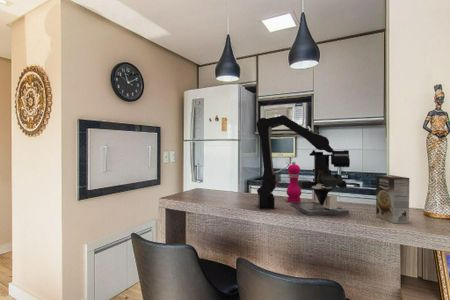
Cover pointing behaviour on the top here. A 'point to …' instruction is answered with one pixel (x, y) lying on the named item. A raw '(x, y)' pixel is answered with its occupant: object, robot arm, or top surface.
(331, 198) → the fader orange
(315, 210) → the mixer panel
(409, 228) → the top surface
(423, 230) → the top surface
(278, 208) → the top surface
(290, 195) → the pepper mill
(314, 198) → the fader plain
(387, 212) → the coffee box
